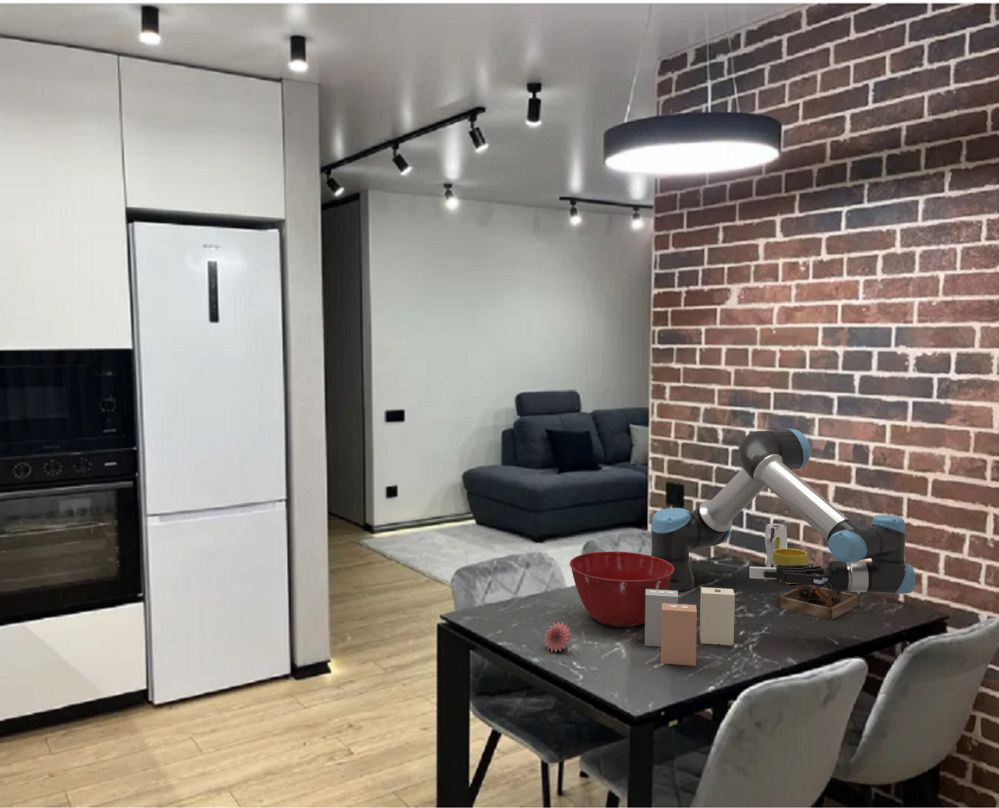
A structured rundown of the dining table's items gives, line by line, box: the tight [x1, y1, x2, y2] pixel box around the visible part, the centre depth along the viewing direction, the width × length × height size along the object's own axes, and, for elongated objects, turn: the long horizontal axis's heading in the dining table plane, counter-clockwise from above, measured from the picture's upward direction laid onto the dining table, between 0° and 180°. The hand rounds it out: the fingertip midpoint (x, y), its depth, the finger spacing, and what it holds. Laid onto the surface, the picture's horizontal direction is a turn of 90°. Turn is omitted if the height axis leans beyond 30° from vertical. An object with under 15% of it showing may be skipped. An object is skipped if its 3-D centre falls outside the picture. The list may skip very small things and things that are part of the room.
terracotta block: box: [660, 603, 698, 667], centre depth 193 cm, size 8×5×13 cm, turn 79°
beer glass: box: [764, 523, 788, 568], centre depth 271 cm, size 7×7×15 cm
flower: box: [543, 621, 572, 653], centre depth 200 cm, size 8×8×6 cm
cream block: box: [699, 587, 736, 646], centre depth 206 cm, size 8×5×13 cm, turn 79°
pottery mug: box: [797, 583, 842, 608], centre depth 234 cm, size 12×10×8 cm
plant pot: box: [773, 547, 808, 585], centre depth 257 cm, size 10×10×10 cm
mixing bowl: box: [569, 550, 674, 628], centre depth 222 cm, size 28×28×16 cm
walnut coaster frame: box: [776, 585, 860, 621], centre depth 234 cm, size 16×18×3 cm
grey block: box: [644, 589, 679, 648], centre depth 204 cm, size 8×5×13 cm, turn 79°
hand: (750, 572), depth 209 cm, fingers closed
